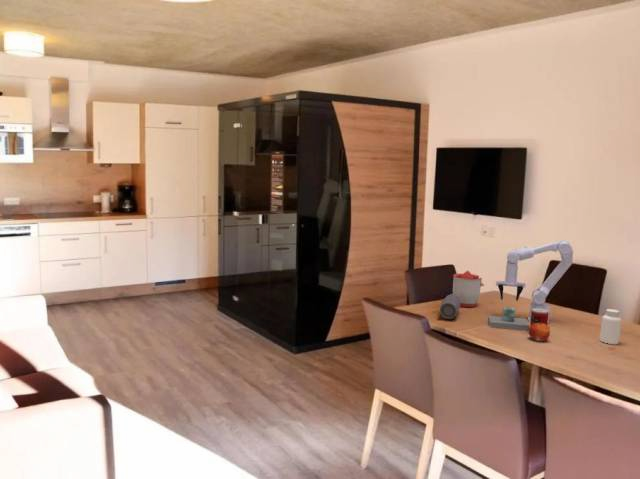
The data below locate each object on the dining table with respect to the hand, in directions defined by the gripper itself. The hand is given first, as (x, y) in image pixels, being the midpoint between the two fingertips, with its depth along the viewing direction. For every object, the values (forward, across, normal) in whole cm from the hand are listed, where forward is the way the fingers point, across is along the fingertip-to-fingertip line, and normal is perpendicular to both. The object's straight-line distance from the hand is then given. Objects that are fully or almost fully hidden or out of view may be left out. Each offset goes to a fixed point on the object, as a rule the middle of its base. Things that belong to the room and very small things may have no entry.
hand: (509, 299), depth 295 cm
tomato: (+10, +9, -38) cm, 40 cm away
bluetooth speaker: (+10, -30, -8) cm, 33 cm away
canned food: (+10, +11, -25) cm, 29 cm away
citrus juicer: (+10, -20, +20) cm, 30 cm away
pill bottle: (+10, +41, -31) cm, 52 cm away
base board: (+9, -2, -17) cm, 20 cm away
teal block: (+7, -2, -17) cm, 18 cm away
